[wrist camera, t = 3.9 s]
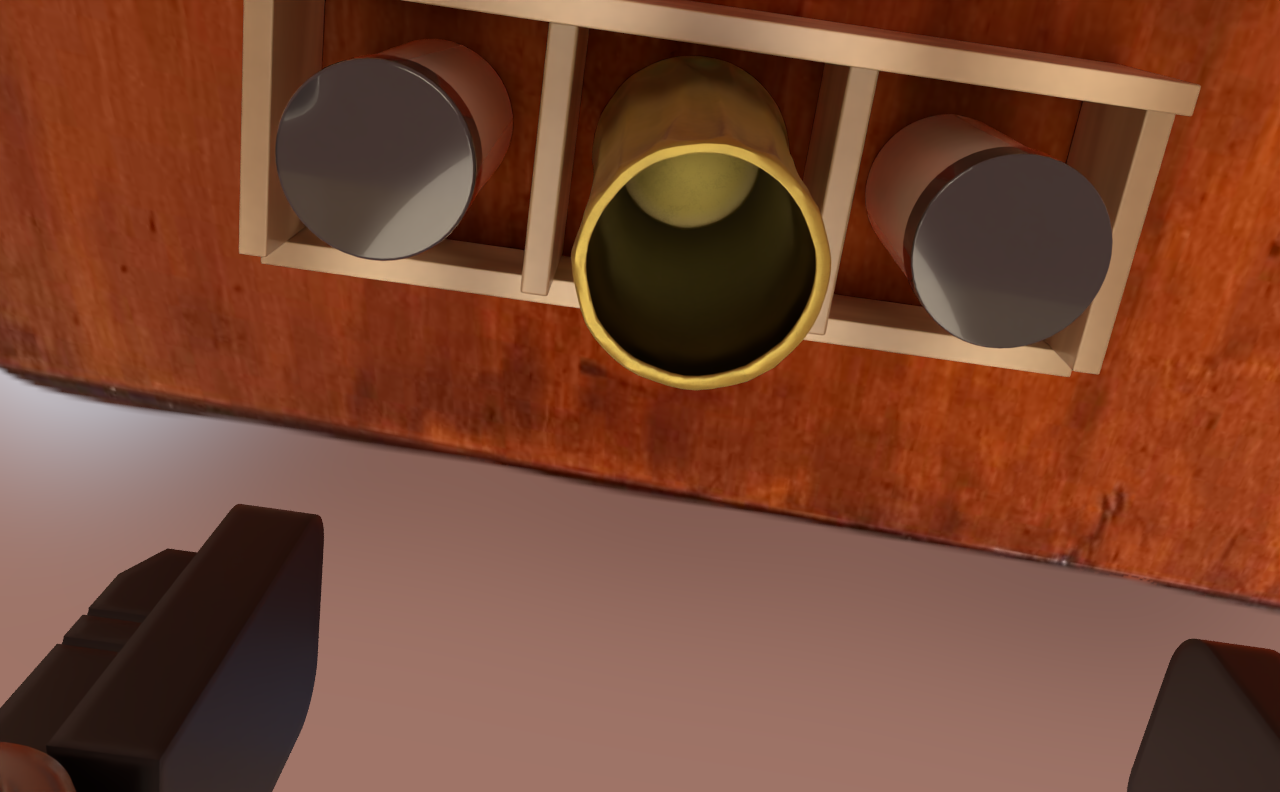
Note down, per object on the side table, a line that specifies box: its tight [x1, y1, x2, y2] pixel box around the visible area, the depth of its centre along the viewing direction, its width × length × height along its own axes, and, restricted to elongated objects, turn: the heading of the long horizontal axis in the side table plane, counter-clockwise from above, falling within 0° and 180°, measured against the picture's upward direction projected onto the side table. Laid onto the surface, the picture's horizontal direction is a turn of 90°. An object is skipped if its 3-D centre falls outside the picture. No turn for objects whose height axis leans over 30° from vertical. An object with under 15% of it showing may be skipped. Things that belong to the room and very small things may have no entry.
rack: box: [239, 0, 1201, 377], centre depth 34 cm, size 25×9×6 cm, turn 82°
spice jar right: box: [865, 114, 1113, 349], centre depth 34 cm, size 5×5×8 cm
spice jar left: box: [275, 39, 513, 261], centre depth 33 cm, size 5×5×8 cm
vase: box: [571, 56, 831, 390], centre depth 30 cm, size 6×6×14 cm
